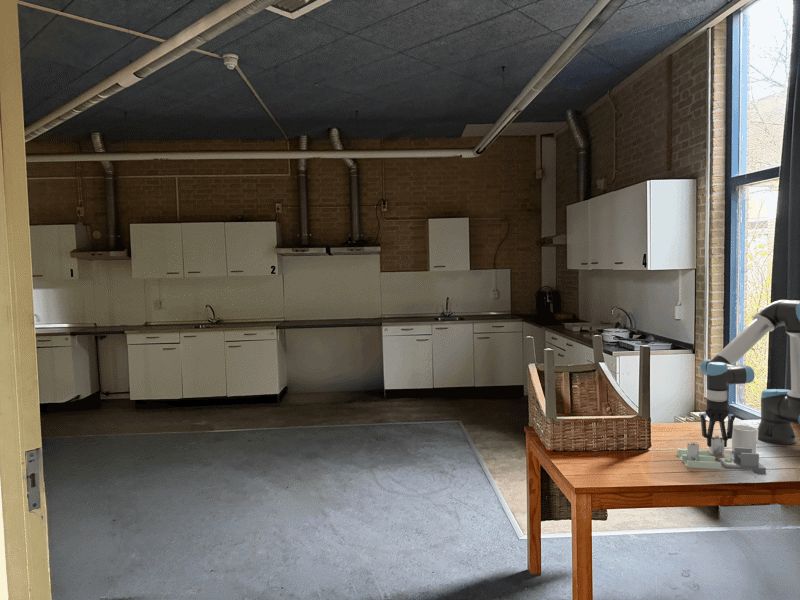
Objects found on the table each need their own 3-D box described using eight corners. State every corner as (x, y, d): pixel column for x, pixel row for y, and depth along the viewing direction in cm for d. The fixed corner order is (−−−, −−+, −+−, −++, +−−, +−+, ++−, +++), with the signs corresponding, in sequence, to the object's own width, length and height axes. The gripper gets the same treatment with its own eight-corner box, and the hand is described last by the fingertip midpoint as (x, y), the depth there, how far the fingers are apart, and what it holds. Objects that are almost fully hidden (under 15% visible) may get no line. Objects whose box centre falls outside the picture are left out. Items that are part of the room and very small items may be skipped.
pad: (750, 456, 216) (750, 454, 216) (755, 460, 212) (755, 458, 212) (737, 455, 217) (737, 453, 217) (741, 459, 213) (741, 457, 213)
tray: (708, 458, 225) (708, 450, 225) (721, 472, 211) (721, 463, 211) (677, 457, 228) (677, 448, 228) (687, 470, 214) (687, 461, 213)
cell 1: (696, 462, 218) (696, 441, 218) (699, 466, 214) (700, 444, 214) (685, 462, 219) (686, 441, 219) (688, 465, 215) (689, 444, 215)
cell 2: (720, 454, 230) (720, 434, 229) (723, 458, 226) (723, 437, 225) (709, 454, 231) (710, 434, 230) (713, 457, 227) (713, 437, 226)
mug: (745, 458, 226) (745, 431, 225) (726, 451, 234) (727, 426, 233) (766, 454, 229) (767, 428, 229) (747, 448, 238) (747, 423, 237)
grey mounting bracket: (754, 464, 219) (755, 447, 218) (765, 473, 209) (766, 455, 208) (716, 462, 222) (716, 445, 221) (725, 471, 212) (725, 453, 212)
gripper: (735, 397, 228) (735, 452, 230) (692, 396, 232) (692, 450, 234) (742, 402, 221) (742, 458, 223) (698, 401, 225) (698, 456, 226)
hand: (716, 454), depth 228 cm, fingers closed on cell 2, 3 cm apart
